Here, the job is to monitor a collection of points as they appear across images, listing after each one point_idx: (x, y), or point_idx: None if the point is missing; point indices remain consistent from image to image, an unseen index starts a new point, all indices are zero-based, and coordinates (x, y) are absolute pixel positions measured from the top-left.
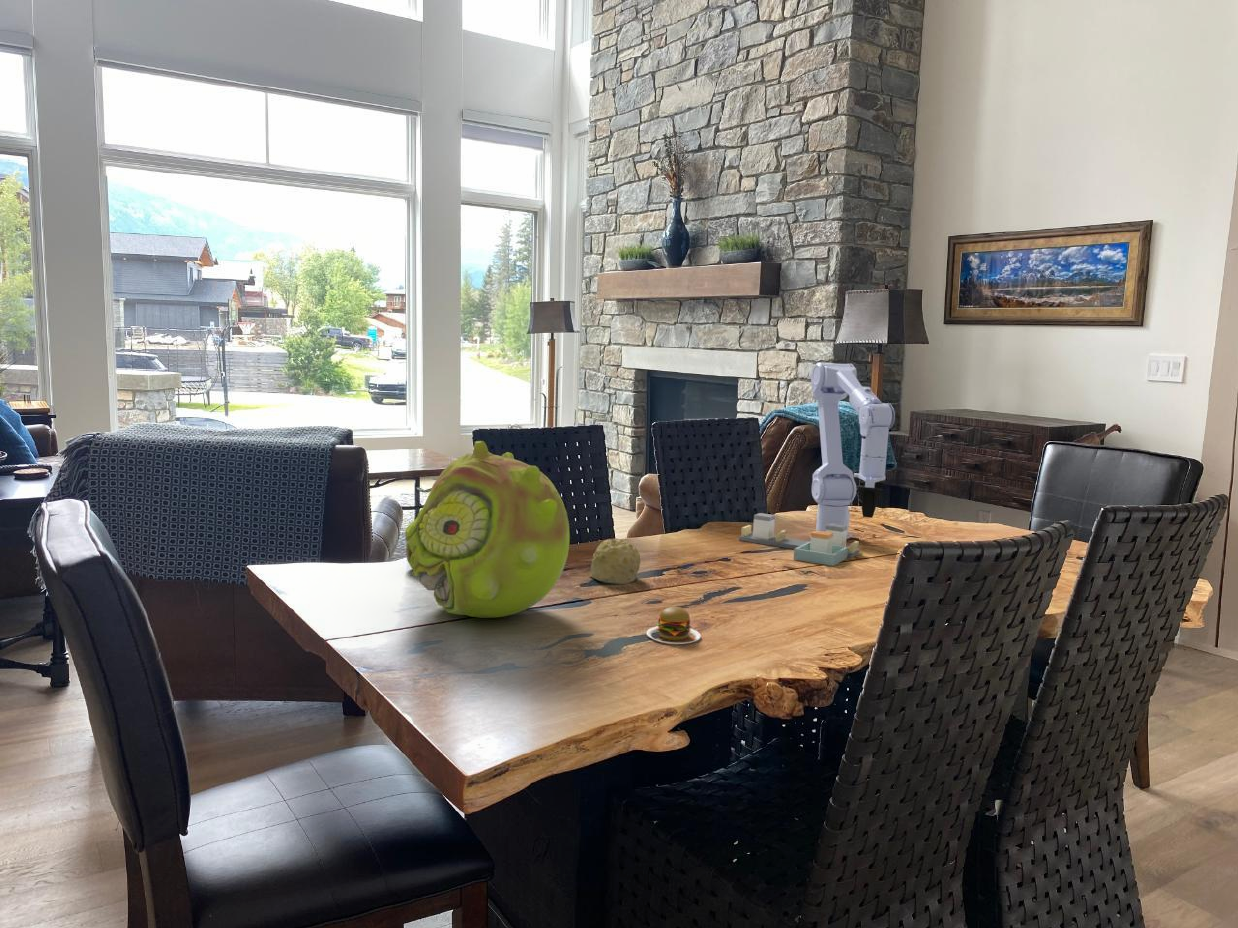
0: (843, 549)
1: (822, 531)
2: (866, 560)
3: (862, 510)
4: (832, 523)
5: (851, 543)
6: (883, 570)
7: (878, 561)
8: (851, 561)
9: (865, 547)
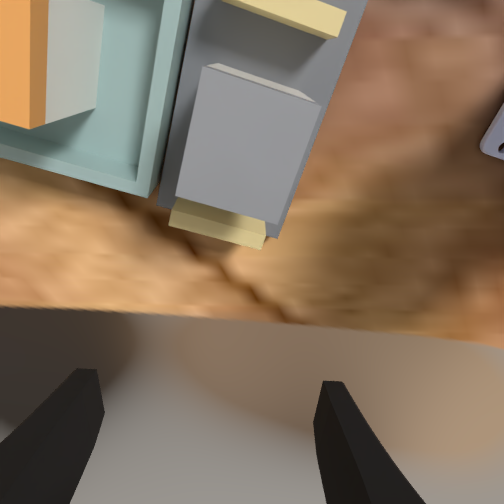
0: (74, 175)
1: (18, 41)
2: (156, 253)
3: (42, 404)
4: (307, 120)
5: (193, 216)
6: (27, 303)
7: (164, 292)
8: (100, 198)
9: (407, 253)
